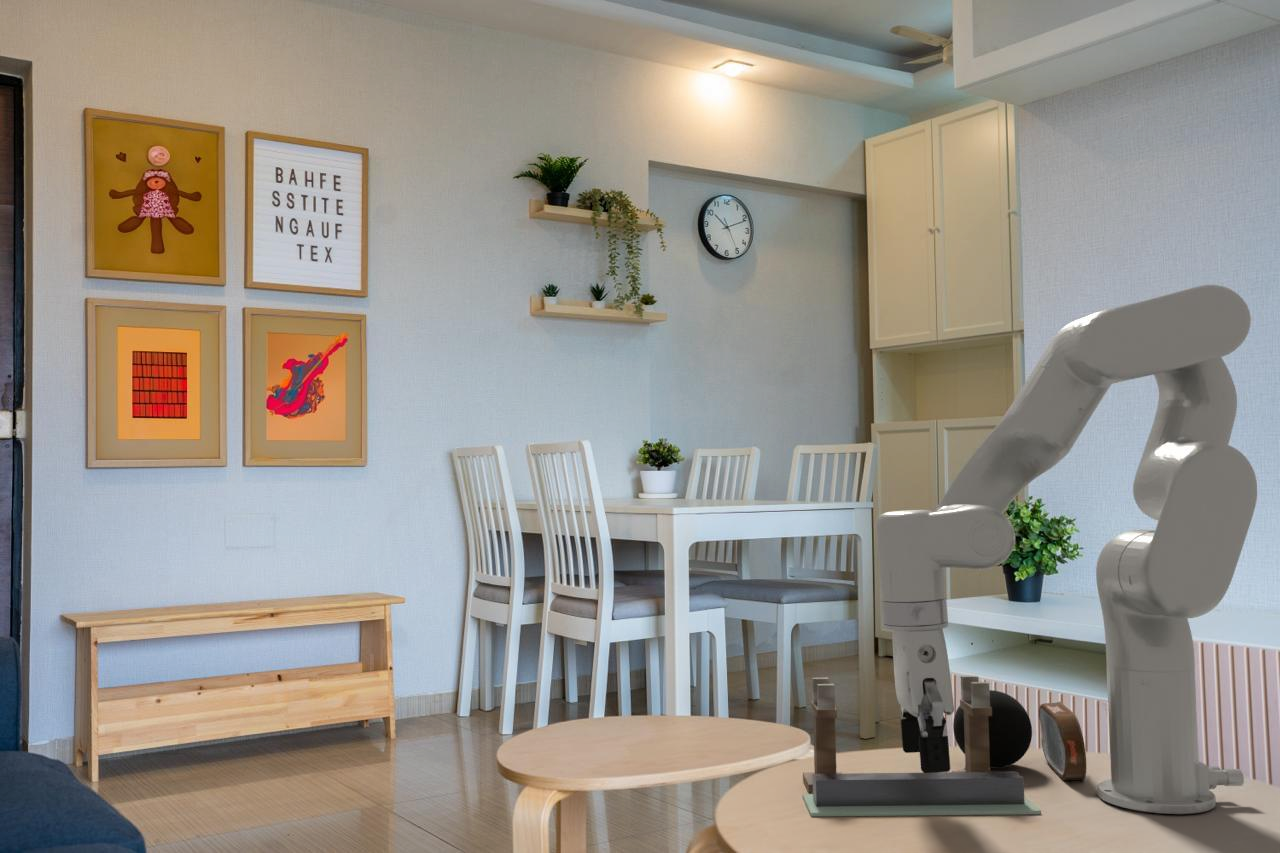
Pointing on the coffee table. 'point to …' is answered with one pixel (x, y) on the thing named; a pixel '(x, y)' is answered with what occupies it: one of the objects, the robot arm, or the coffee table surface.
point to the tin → (1062, 741)
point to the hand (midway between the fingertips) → (925, 761)
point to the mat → (920, 809)
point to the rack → (971, 702)
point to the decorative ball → (1001, 730)
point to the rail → (918, 789)
